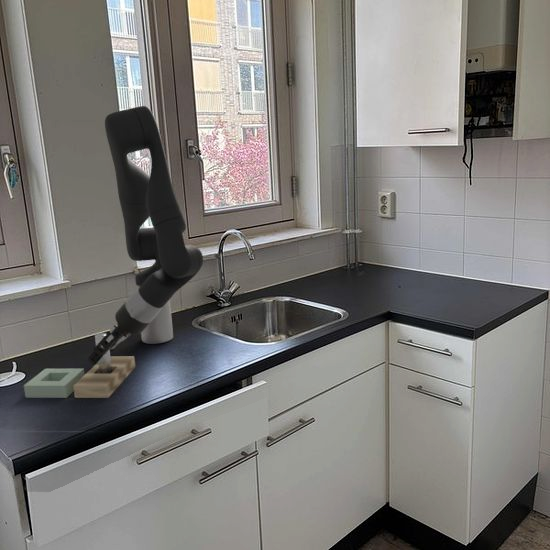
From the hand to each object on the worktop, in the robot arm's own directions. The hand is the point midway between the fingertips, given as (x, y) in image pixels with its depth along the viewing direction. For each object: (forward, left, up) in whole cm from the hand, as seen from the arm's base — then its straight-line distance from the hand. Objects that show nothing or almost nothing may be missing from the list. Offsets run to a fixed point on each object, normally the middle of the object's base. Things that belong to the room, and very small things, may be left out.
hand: (100, 355), depth 135 cm
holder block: (+4, -10, -7) cm, 13 cm away
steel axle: (0, +1, -7) cm, 7 cm away
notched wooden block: (0, +1, -7) cm, 7 cm away
